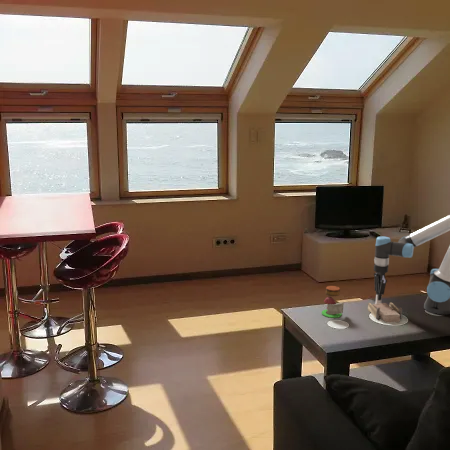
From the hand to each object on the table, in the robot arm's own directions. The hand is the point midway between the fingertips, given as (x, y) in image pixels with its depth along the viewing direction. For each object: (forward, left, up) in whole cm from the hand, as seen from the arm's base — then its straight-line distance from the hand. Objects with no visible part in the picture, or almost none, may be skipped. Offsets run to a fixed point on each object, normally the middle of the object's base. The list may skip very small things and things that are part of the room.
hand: (378, 304), depth 277 cm
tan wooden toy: (0, +8, -2) cm, 9 cm away
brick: (0, +11, -2) cm, 12 cm away
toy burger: (+29, +7, -2) cm, 30 cm away
